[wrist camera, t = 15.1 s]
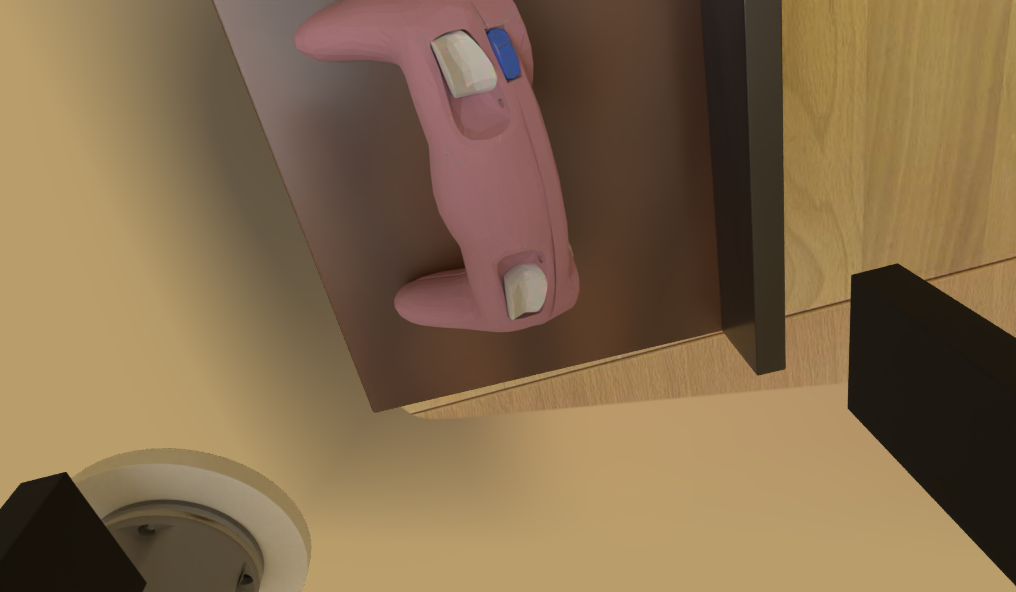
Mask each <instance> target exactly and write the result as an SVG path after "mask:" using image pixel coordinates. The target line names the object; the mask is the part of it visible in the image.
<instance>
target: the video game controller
mask: <svg viewBox="0 0 1016 592" xmlns="http://www.w3.org/2000/svg"><path fill="white" fill-rule="evenodd" d="M294 44H295V48H296V49H297V50H298V51H300V52H301V53H302V54H304V55H306V56H307V57H309V58H312V59H315V60H319V61H322V62H349V61H367V60H371V61H378V62H385V63H392V64H397V65H398V66H399V67H401V69H402V71H403V73H404V75H405V78H406V81H407V84H408V87H409V91H410V94H411V97H412V100H413V103H414V106H415V109H416V112H417V115H418V117H419V120H420V123H421V126H422V128H423V131H424V134H425V137H426V139H427V142H428V145H429V157H430V171H431V179H432V187H433V194H434V197H435V200H436V204H437V207H438V210H439V213H440V215H441V217H442V219H443V221H444V222H445V224H446V226H447V228H448V230H449V232H450V233H451V234H452V236H453V237H454V239H455V240H456V242H457V243H458V244H459V246H460V248H461V252H462V256H463V260H464V264H465V268H463V269H456V270H449V271H442V272H437V273H434V274H430V275H427V276H423V277H420V278H418V279H416V280H414V281H412V282H410V283H408V284H406V285H404V286H403V287H402V288H401V289H400V290H399V291H398V293H397V294H396V296H395V299H394V306H395V308H396V310H397V312H398V313H399V314H400V316H401V317H403V318H405V319H406V320H408V321H410V322H412V323H415V324H419V325H423V326H432V327H441V328H458V329H470V330H480V331H489V332H511V331H516V330H521V329H525V328H528V327H531V326H534V325H541V324H544V323H546V322H547V321H549V320H551V319H553V318H554V317H556V316H558V315H560V314H562V313H563V312H565V311H567V310H569V309H570V308H572V307H573V306H574V305H575V303H576V301H577V298H578V294H579V274H578V271H577V268H576V265H575V262H574V259H573V253H572V249H571V246H570V244H569V241H568V228H567V219H566V214H565V208H564V202H563V197H562V191H561V186H560V180H559V176H558V172H557V168H556V164H555V160H554V156H553V152H552V148H551V144H550V141H549V137H548V133H547V130H546V127H545V124H544V120H543V117H542V114H541V111H540V108H539V105H538V102H537V100H536V97H535V94H534V92H533V89H532V82H533V58H532V49H531V44H530V41H529V37H528V34H527V30H526V27H525V24H524V22H523V20H522V18H521V16H520V13H519V11H518V9H517V7H516V5H515V3H514V2H513V0H343V1H341V2H339V3H336V4H334V5H331V6H329V7H327V8H325V9H323V10H320V11H318V12H316V13H315V14H313V15H312V16H311V17H309V18H308V19H307V20H305V21H304V22H303V23H302V24H301V25H300V26H299V27H298V28H297V30H296V32H295V35H294Z"/></svg>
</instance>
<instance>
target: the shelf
mask: <svg viewBox="0 0 1016 592" xmlns="http://www.w3.org/2000/svg"><path fill="white" fill-rule="evenodd" d="M341 1H343V0H212V2H213V4H214V7H215V10H216V12H217V15H218V17H219V20H220V22H221V25H222V27H223V30H224V33H225V35H226V38H227V40H228V43H229V45H230V48H231V50H232V53H233V55H234V58H235V61H236V63H237V66H238V68H239V71H240V73H241V76H242V78H243V81H244V84H245V86H246V89H247V91H248V94H249V96H250V99H251V101H252V104H253V107H254V109H255V112H256V114H257V117H258V119H259V122H260V124H261V127H262V130H263V132H264V135H265V137H266V140H267V142H268V145H269V147H270V150H271V152H272V155H273V158H274V160H275V163H276V165H277V168H278V170H279V173H280V175H281V178H282V180H283V183H284V186H285V188H286V191H287V193H288V196H289V198H290V201H291V204H292V206H293V209H294V211H295V214H296V216H297V219H298V221H299V224H300V226H301V229H302V232H303V234H304V237H305V239H306V242H307V244H308V247H309V249H310V252H311V254H312V257H313V260H314V262H315V265H316V267H317V270H318V272H319V275H320V277H321V280H322V282H323V285H324V288H325V290H326V293H327V295H328V298H329V300H330V303H331V305H332V308H333V311H334V313H335V315H336V318H337V321H338V323H339V326H340V329H341V331H342V334H343V336H344V339H345V341H346V344H347V346H348V349H349V351H350V354H351V356H352V359H353V362H354V364H355V367H356V369H357V372H358V375H359V377H360V379H361V382H362V384H363V387H364V390H365V392H366V395H367V397H368V400H369V402H370V405H371V408H372V410H373V412H380V411H384V410H388V409H393V408H397V407H401V406H405V405H409V404H414V403H418V402H422V401H426V400H431V399H435V398H439V397H443V396H448V395H452V394H456V393H460V392H464V391H469V390H473V389H477V388H481V387H486V386H490V385H494V384H498V383H502V382H507V381H511V380H515V379H519V378H524V377H528V376H532V375H536V374H541V373H545V372H549V371H553V370H557V369H562V368H566V367H570V366H574V365H579V364H583V363H587V362H591V361H596V360H600V359H604V358H608V357H612V356H617V355H621V354H625V353H629V352H634V351H638V350H642V349H646V348H650V347H655V346H659V345H663V344H667V343H672V342H676V341H680V340H684V339H689V338H693V337H697V336H701V335H705V334H710V333H714V332H718V331H723V333H724V334H725V335H726V336H727V338H728V339H729V340H730V341H731V343H732V344H733V345H734V346H735V348H736V349H737V350H738V352H739V353H740V354H741V355H742V357H743V358H744V359H745V360H746V362H747V363H748V364H749V366H750V367H751V368H752V369H753V371H754V372H755V373H756V374H757V375H763V374H767V373H771V372H775V371H780V370H784V369H785V368H786V357H785V265H784V173H783V81H782V0H513V2H514V3H515V5H516V7H517V9H518V11H519V13H520V16H521V18H522V20H523V22H524V24H525V27H526V30H527V34H528V37H529V41H530V44H531V49H532V58H533V82H532V89H533V92H534V94H535V97H536V100H537V102H538V105H539V108H540V111H541V114H542V117H543V120H544V124H545V127H546V130H547V133H548V137H549V141H550V144H551V148H552V152H553V156H554V160H555V164H556V168H557V172H558V176H559V180H560V186H561V191H562V197H563V202H564V208H565V214H566V219H567V228H568V241H569V244H570V246H571V249H572V253H573V259H574V262H575V265H576V268H577V271H578V274H579V294H578V298H577V301H576V303H575V305H574V306H573V307H572V308H570V309H569V310H567V311H565V312H563V313H562V314H560V315H558V316H556V317H554V318H553V319H551V320H549V321H547V322H546V323H544V324H541V325H534V326H531V327H528V328H525V329H521V330H516V331H511V332H489V331H480V330H470V329H458V328H441V327H432V326H423V325H419V324H415V323H412V322H410V321H408V320H406V319H405V318H403V317H401V316H400V314H399V313H398V312H397V310H396V308H395V306H394V299H395V296H396V294H397V293H398V291H399V290H400V289H401V288H402V287H403V286H404V285H406V284H408V283H410V282H412V281H414V280H416V279H418V278H420V277H423V276H427V275H430V274H434V273H437V272H442V271H449V270H456V269H463V268H465V264H464V260H463V256H462V252H461V248H460V246H459V244H458V243H457V242H456V240H455V239H454V237H453V236H452V234H451V233H450V232H449V230H448V228H447V226H446V224H445V222H444V221H443V219H442V217H441V215H440V213H439V210H438V207H437V204H436V200H435V197H434V194H433V187H432V179H431V171H430V157H429V145H428V142H427V139H426V137H425V134H424V131H423V128H422V126H421V123H420V120H419V117H418V115H417V112H416V109H415V106H414V103H413V100H412V97H411V94H410V91H409V87H408V84H407V81H406V78H405V75H404V73H403V71H402V69H401V67H399V66H398V65H397V64H392V63H385V62H378V61H371V60H367V61H349V62H322V61H319V60H315V59H312V58H309V57H307V56H306V55H304V54H302V53H301V52H300V51H298V50H297V49H296V48H295V44H294V35H295V32H296V30H297V28H298V27H299V26H300V25H301V24H302V23H303V22H304V21H305V20H307V19H308V18H309V17H311V16H312V15H313V14H315V13H316V12H318V11H320V10H323V9H325V8H327V7H329V6H331V5H334V4H336V3H339V2H341Z"/></svg>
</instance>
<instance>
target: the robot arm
mask: <svg viewBox="0 0 1016 592" xmlns="http://www.w3.org/2000/svg"><path fill="white" fill-rule="evenodd" d="M848 409H849V410H850V411H851V412H852V413H853V415H855V417H856V418H857V419H858V420H859V421H860V422H861V423H862V424H863V425H864V426H865V427H866V428H867V429H868V430H869V431H870V432H871V434H872V435H873V436H874V437H875V438H876V439H877V440H878V441H879V442H880V443H881V444H882V445H883V446H884V447H885V448H886V449H887V450H888V451H889V453H891V455H892V456H893V457H894V458H895V459H896V460H897V461H898V462H899V463H900V464H901V465H902V466H903V467H904V468H905V469H906V470H907V471H908V473H909V474H910V475H911V476H912V477H913V478H914V479H915V480H916V481H917V482H918V483H919V484H920V485H921V486H922V487H923V488H924V489H925V491H926V492H927V493H928V494H929V495H930V496H931V497H932V498H933V499H934V500H935V501H936V502H937V503H938V504H939V505H940V506H941V507H942V509H944V511H945V512H946V513H947V514H948V515H949V516H950V517H951V518H952V519H953V520H954V521H955V522H956V523H957V524H958V525H959V526H960V528H962V530H964V532H965V533H966V534H967V535H968V536H969V537H970V538H971V539H972V540H973V541H974V542H975V543H976V544H977V545H978V547H979V548H980V549H981V550H982V551H983V552H984V553H985V554H986V555H987V556H988V557H989V558H990V559H991V560H992V561H993V562H994V563H995V564H996V565H997V567H998V568H999V569H1000V570H1002V572H1003V573H1004V574H1005V575H1006V576H1007V577H1008V578H1009V579H1010V580H1011V581H1012V582H1013V583H1014V584H1015V586H1016V338H1015V337H1013V336H1012V335H1010V334H1009V333H1007V332H1005V331H1004V330H1002V329H1001V328H999V327H998V326H996V325H994V324H993V323H991V322H990V321H988V320H987V319H985V318H983V317H982V316H980V315H979V314H977V313H975V312H974V311H972V310H971V309H969V308H968V307H966V306H964V305H963V304H961V303H960V302H958V301H956V300H955V299H953V298H952V297H950V296H949V295H947V294H945V293H944V292H942V291H941V290H939V289H937V288H936V287H934V286H933V285H931V284H930V283H928V282H926V281H925V280H923V279H922V278H920V277H918V276H917V275H915V274H914V273H912V272H911V271H909V270H907V269H906V268H904V267H903V266H901V265H899V264H898V263H897V264H893V265H889V266H885V267H881V268H877V269H873V270H869V271H865V272H861V273H858V274H854V275H851V308H850V343H849V378H848ZM263 574H264V558H263V554H262V551H261V548H260V546H259V544H258V543H257V541H256V539H255V538H254V537H253V536H252V534H251V533H250V532H249V531H248V530H247V529H246V528H245V527H244V526H243V525H241V524H240V523H239V522H237V521H236V520H235V519H233V518H231V517H230V516H228V515H226V514H224V513H222V512H220V511H218V510H216V509H213V508H211V507H208V506H204V505H201V504H197V503H193V502H188V501H181V500H165V499H164V500H149V501H142V502H137V503H133V504H129V505H126V506H124V507H121V508H119V509H117V510H114V511H113V512H111V513H109V514H107V515H106V516H105V517H103V518H102V519H100V518H99V516H98V515H97V514H96V512H95V511H94V509H93V508H92V507H91V505H90V504H89V503H88V501H87V500H86V498H85V497H84V496H83V494H82V493H81V492H80V490H79V489H78V487H77V486H76V485H75V483H74V482H73V481H72V479H71V478H70V477H69V475H68V474H67V472H63V473H59V474H55V475H52V476H48V477H43V478H39V479H36V480H32V481H28V482H24V483H21V484H20V485H19V486H18V487H17V489H16V490H15V491H14V492H13V494H12V495H11V496H10V498H9V499H8V500H7V501H6V502H5V504H4V505H3V506H2V507H1V509H0V592H259V588H260V584H261V581H262V577H263Z"/></svg>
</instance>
